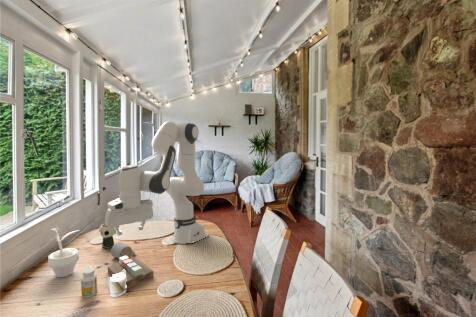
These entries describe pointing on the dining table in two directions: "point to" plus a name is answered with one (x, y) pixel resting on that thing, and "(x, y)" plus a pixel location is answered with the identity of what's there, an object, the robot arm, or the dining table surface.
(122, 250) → the ceramic mug
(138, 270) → the key sage
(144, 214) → the robot arm
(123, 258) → the key ivory
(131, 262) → the key brick
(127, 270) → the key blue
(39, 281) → the dining table surface
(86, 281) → the supplement bottle
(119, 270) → the key panel
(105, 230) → the character mug
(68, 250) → the potted plant
